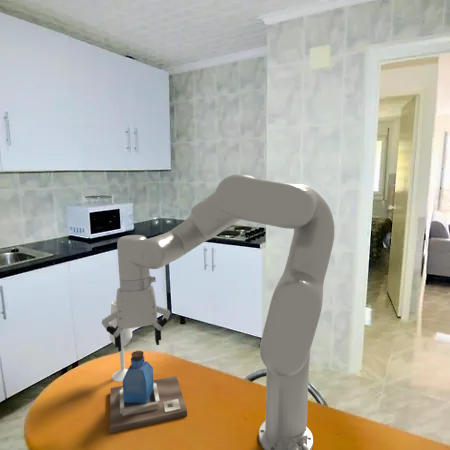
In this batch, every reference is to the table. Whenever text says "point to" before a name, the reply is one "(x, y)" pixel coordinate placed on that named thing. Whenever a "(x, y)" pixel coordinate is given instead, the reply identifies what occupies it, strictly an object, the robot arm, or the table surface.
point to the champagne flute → (125, 338)
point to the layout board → (147, 406)
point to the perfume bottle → (138, 380)
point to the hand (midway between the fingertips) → (138, 345)
